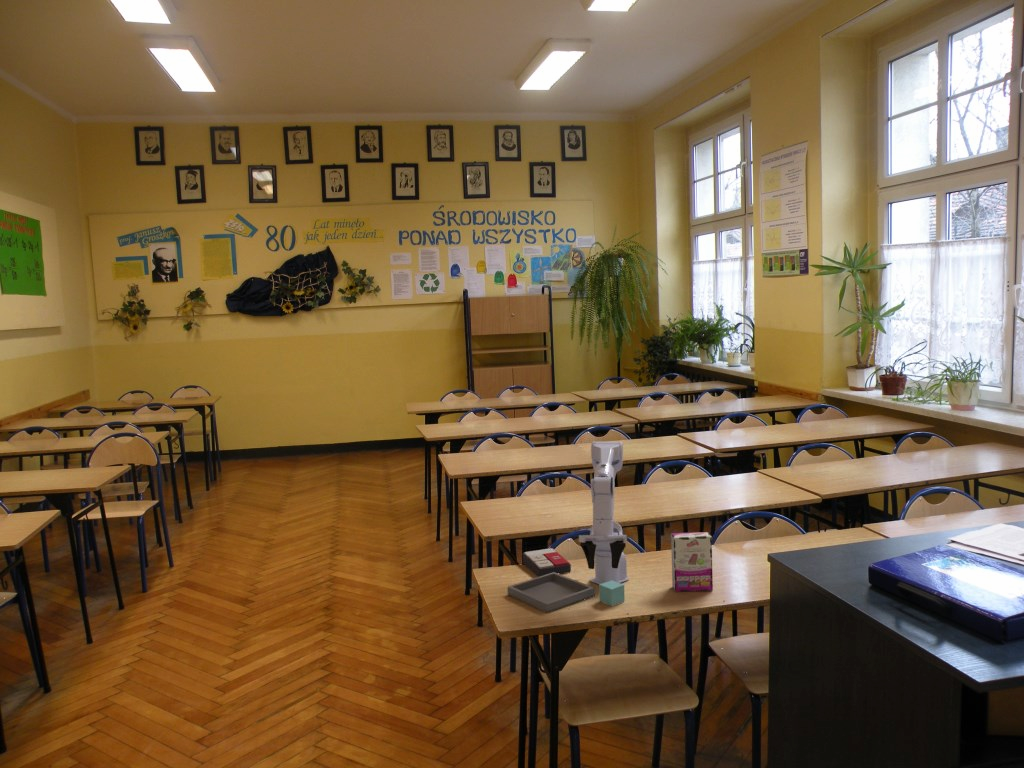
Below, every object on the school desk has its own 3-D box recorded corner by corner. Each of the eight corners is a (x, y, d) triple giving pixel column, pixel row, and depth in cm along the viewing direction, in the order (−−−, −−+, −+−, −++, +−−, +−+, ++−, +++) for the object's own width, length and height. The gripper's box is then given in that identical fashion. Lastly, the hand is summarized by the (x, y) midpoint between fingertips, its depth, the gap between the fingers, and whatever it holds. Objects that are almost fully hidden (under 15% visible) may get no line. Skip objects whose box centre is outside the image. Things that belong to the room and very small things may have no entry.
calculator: (539, 567, 239) (522, 550, 253) (539, 580, 239) (522, 563, 253) (571, 562, 242) (552, 546, 256) (571, 575, 243) (552, 558, 257)
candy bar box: (708, 585, 228) (708, 531, 226) (713, 591, 223) (712, 536, 221) (671, 586, 228) (670, 532, 226) (674, 592, 223) (673, 537, 221)
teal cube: (612, 596, 222) (611, 580, 221) (624, 601, 218) (624, 584, 217) (599, 601, 218) (599, 584, 218) (612, 606, 215) (611, 589, 214)
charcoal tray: (554, 579, 236) (553, 571, 236) (594, 596, 222) (594, 587, 222) (507, 594, 225) (507, 586, 225) (547, 613, 211) (547, 604, 211)
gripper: (587, 519, 211) (587, 570, 209) (632, 519, 217) (632, 569, 215) (575, 519, 218) (575, 568, 216) (619, 519, 223) (619, 566, 221)
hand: (603, 568), depth 216 cm, fingers open, 7 cm apart
